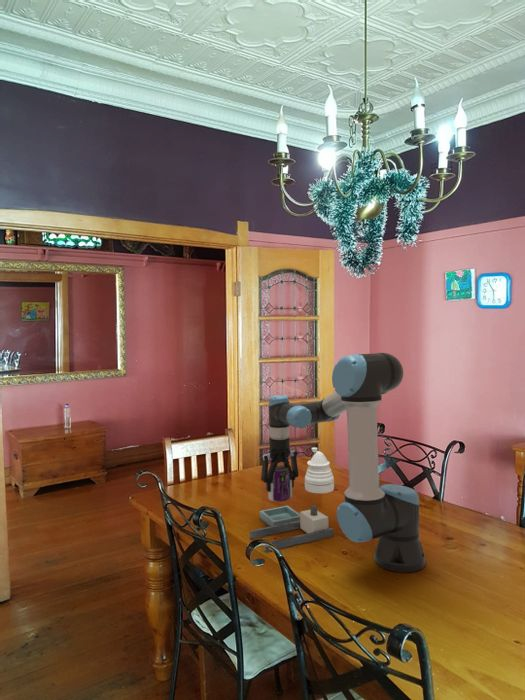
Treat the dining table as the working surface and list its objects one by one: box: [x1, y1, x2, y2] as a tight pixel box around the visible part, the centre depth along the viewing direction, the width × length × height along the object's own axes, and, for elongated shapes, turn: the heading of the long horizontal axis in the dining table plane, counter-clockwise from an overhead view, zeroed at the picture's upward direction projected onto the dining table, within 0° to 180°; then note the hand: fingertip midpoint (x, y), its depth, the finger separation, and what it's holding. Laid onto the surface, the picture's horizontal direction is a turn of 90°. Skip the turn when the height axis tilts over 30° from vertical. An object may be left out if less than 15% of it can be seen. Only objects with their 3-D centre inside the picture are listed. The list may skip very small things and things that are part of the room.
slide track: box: [249, 520, 334, 553], centre depth 177 cm, size 12×26×2 cm, turn 115°
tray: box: [259, 505, 300, 527], centre depth 191 cm, size 12×12×3 cm
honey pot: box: [304, 447, 335, 494], centre depth 227 cm, size 13×13×18 cm
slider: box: [299, 504, 329, 534], centre depth 181 cm, size 9×6×9 cm, turn 25°
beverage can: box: [272, 465, 290, 503], centre depth 190 cm, size 7×7×12 cm
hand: (280, 497), depth 191 cm, fingers closed on beverage can, 7 cm apart
